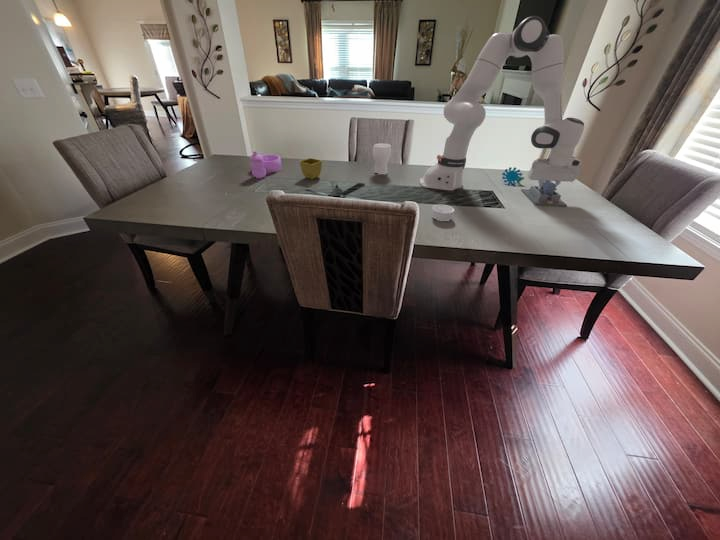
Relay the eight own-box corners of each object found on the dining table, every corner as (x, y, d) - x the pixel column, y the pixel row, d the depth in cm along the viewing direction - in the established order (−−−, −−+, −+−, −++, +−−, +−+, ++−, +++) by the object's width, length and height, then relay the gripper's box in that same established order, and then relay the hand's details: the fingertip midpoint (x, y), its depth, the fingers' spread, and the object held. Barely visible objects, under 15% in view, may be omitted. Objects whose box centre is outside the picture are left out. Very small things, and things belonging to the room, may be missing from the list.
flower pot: (323, 177, 157) (322, 160, 151) (313, 181, 151) (311, 164, 145) (311, 174, 160) (309, 157, 155) (301, 178, 154) (299, 161, 149)
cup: (372, 169, 169) (373, 142, 160) (390, 170, 168) (392, 143, 159) (370, 175, 160) (371, 147, 151) (389, 176, 159) (391, 148, 150)
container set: (261, 165, 173) (256, 142, 165) (285, 166, 172) (282, 143, 164) (243, 178, 153) (237, 153, 145) (271, 179, 152) (266, 154, 144)
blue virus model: (499, 180, 150) (506, 164, 151) (496, 185, 156) (503, 169, 157) (521, 186, 148) (527, 170, 149) (517, 191, 154) (523, 175, 154)
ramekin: (429, 213, 122) (430, 203, 119) (449, 213, 121) (451, 204, 119) (432, 222, 114) (434, 213, 112) (454, 223, 114) (456, 213, 112)
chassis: (534, 205, 130) (537, 197, 127) (520, 190, 144) (523, 183, 142) (566, 206, 129) (570, 198, 126) (549, 192, 143) (552, 184, 141)
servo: (544, 196, 131) (549, 184, 128) (535, 188, 139) (540, 177, 135) (553, 197, 131) (558, 185, 127) (544, 189, 139) (549, 177, 135)
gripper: (537, 160, 124) (525, 190, 132) (586, 162, 122) (571, 193, 130) (531, 156, 129) (521, 185, 137) (578, 158, 127) (564, 188, 135)
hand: (545, 189), depth 134 cm, fingers closed on servo, 4 cm apart
